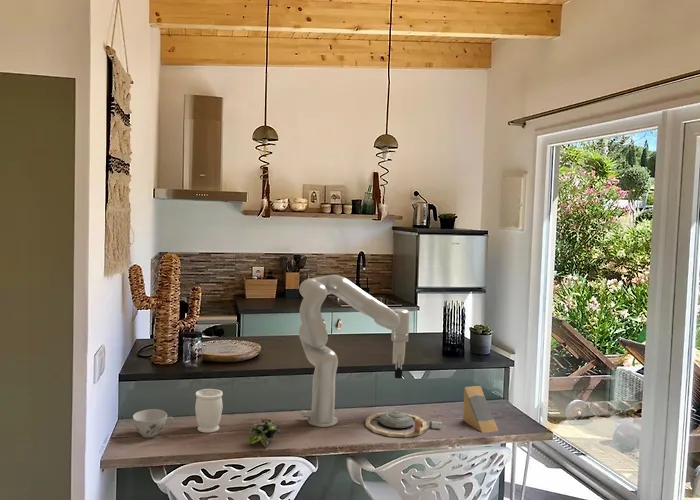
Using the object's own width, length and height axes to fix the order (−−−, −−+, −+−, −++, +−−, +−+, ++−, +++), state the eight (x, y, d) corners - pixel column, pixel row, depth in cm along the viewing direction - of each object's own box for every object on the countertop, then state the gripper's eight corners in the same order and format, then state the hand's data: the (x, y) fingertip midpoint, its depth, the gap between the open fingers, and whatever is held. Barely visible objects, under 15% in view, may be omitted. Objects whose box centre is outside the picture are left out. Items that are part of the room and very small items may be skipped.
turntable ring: (364, 434, 241) (365, 420, 241) (367, 412, 267) (367, 399, 266) (428, 438, 240) (429, 424, 239) (425, 416, 265) (425, 402, 264)
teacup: (130, 442, 225) (130, 421, 225) (134, 429, 237) (135, 409, 237) (172, 440, 229) (172, 419, 228) (174, 427, 241) (174, 408, 240)
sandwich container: (482, 433, 249) (484, 398, 248) (462, 420, 263) (463, 386, 262) (499, 431, 252) (501, 396, 251) (478, 418, 266) (480, 385, 265)
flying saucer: (418, 421, 259) (419, 409, 259) (406, 433, 246) (407, 420, 245) (386, 415, 266) (386, 403, 265) (372, 426, 252) (373, 413, 252)
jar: (227, 427, 243) (228, 391, 242) (211, 436, 234) (211, 398, 233) (206, 422, 248) (206, 386, 246) (189, 430, 238) (190, 393, 237)
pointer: (429, 428, 251) (429, 422, 251) (429, 426, 253) (429, 421, 253) (441, 429, 251) (441, 423, 251) (441, 427, 253) (441, 421, 252)
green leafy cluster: (265, 454, 232) (282, 426, 235) (269, 460, 222) (288, 431, 225) (240, 438, 230) (258, 411, 233) (244, 444, 220) (263, 415, 223)
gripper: (391, 333, 273) (389, 372, 275) (391, 340, 258) (389, 382, 260) (407, 333, 273) (406, 373, 274) (408, 341, 258) (407, 383, 259)
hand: (398, 377), depth 267 cm, fingers closed
